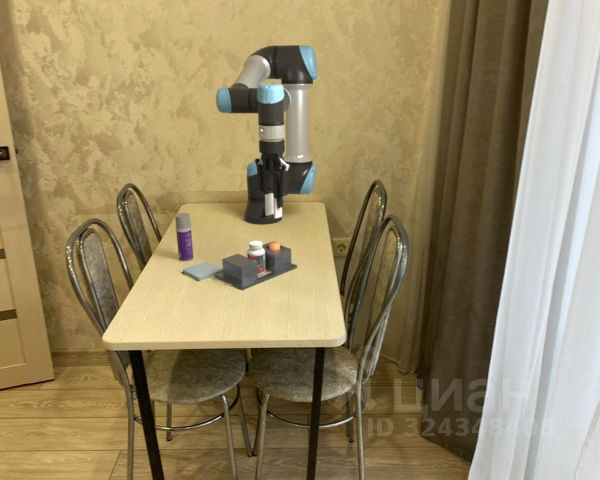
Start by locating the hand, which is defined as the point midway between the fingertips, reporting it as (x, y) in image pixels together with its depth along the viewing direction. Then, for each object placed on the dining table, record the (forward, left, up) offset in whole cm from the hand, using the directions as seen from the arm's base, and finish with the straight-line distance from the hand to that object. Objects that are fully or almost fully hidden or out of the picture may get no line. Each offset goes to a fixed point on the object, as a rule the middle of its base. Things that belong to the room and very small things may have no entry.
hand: (273, 215), depth 166 cm
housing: (+8, 0, -17) cm, 18 cm away
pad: (+19, -12, -17) cm, 28 cm away
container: (+17, -25, -17) cm, 34 cm away
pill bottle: (+8, 0, -17) cm, 18 cm away
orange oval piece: (0, 0, -14) cm, 14 cm away
